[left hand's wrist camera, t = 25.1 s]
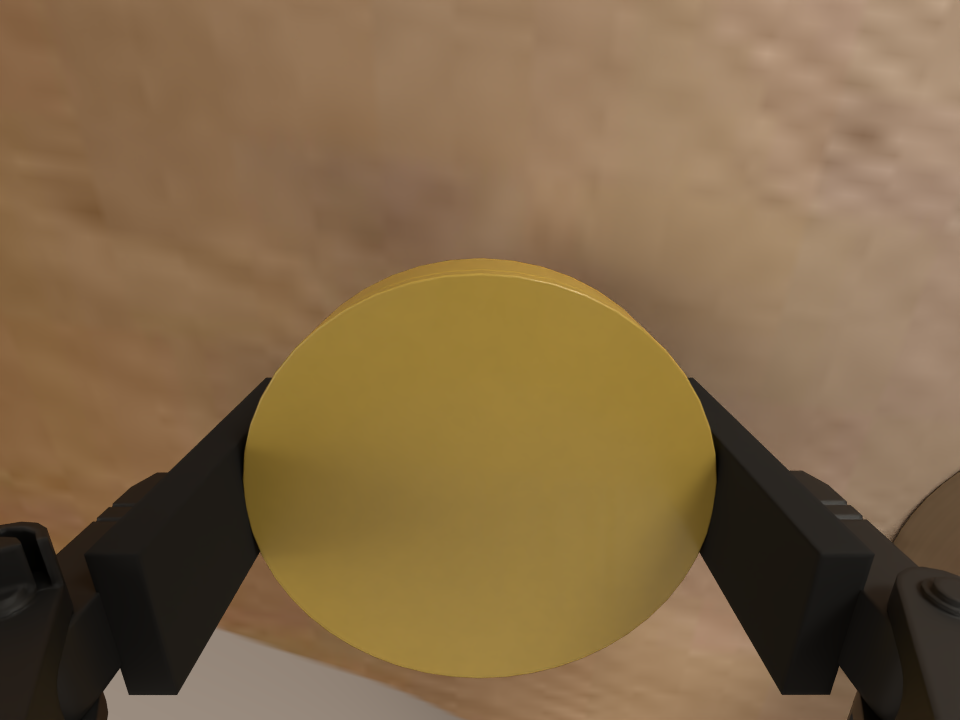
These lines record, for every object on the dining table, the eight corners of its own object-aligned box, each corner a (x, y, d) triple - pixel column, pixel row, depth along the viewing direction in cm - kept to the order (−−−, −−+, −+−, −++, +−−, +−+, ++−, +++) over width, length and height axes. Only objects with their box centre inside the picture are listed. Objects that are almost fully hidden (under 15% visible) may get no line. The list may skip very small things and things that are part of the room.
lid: (773, 396, 12) (820, 432, 10) (541, 668, 14) (549, 731, 13) (390, 164, 10) (373, 163, 8) (213, 523, 13) (174, 574, 11)
